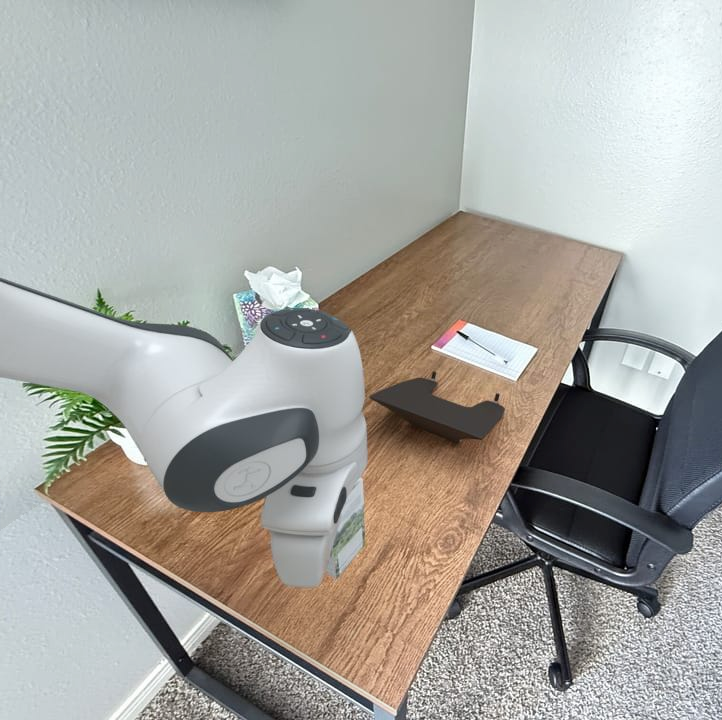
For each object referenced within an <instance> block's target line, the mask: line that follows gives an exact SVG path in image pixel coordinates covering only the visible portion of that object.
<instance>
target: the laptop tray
mask: <svg viewBox="0 0 722 720" xmlns="http://www.w3.org/2000/svg"><path fill="white" fill-rule="evenodd" d="M436 376H437V371H435V370H433V371H432V373H431V376H430V379H429V378H424V377H415V378H411V379H408V380H405V381H401V382H398V383H396V384H394V385H391V386H387V387H386V388H383V389H381V390H379V391H377V392H374V393H373V394H371V395H369V400H372V401H373V402H375V403H377V404H379V405H381V406H382V407H384V408H386V409H388V410H389V411H391V412H393V413H394V414H395V415H397V416H399V417H400V418H401V419H403V420H404V421H405V422H407V423H408V424H409V425H410V426H411V427H413V428H415V429H416V430H420V431H422V432H424V433H427V434H430V435H433V436H436V437H438V438H441V439H443V440H446V441H448V442H451V443H453V444H460V442H461V441H463V440H474V441H483V439H484V438H485V437H486V436H488V435H489V434H490V432H492V430H494V429H495V427H496V426H497V425H498V423H499V422H500V421H501V419H502V417H503V415H504V414H505V411H506V408H505V407H504V406H503V405H501V404H500V403H498V402H499V399H500V395H501V394H500V393H498V392H497V393H495V395H494V399H493V401H492V400H484V401H481V402H479V403H476V404H474V405H473V406H465V405H462V404H458V403H456V402H453V401H450V400H448V399H444V398H442V397H439V396H437V395H434V394H432V391H434V390H435V389H436V388H437V386H438V385H439V383H438V382H437V381H435V379H436Z"/></svg>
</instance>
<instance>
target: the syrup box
mask: <svg viewBox="0 0 722 720" xmlns="http://www.w3.org/2000/svg"><path fill="white" fill-rule="evenodd" d="M364 498H365V495H364V478H363V477H360V478H359V479H358V480H357V482H356V484H355V486H354V488H353V489H352V491H351V493H350V494H349V496H348V498H347V500H346V502H345V504H344V507H343V509H342V511H341V516H342V517H341V521H340V524H339V527H338V530H337V533H336V537H335V540H334V543H333V546H332V551H333V553H332V556H331V560H330V563H329V564H328V565H327V566H326V569H325V572H324V574H327V575H329V576H330V577H332V578H333V579H335V580H338V579H339V578H340V576H341V575H342V574H343V572H344V571H346V569H347V568H348V566H350V564H351V563H352V562H353V561H354V560H355V558H356V557H357V555H358V554H359V553H360V552H361V550H362V549H363V548H364V547H365V546H366V530H365V526H366V525H365V500H364Z"/></svg>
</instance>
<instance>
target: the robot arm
mask: <svg viewBox="0 0 722 720" xmlns="http://www.w3.org/2000/svg"><path fill="white" fill-rule="evenodd" d="M256 327H257V328H256V330H255V332H254V335H253V337H252V338H251V340H250V341H249V343H248V344H247V345H246V346H245V348H244V349H243V350H242V351H241V352H240V353H239V354H238V355H237V357H235V358H234V359H233V358H232V357H231V355H230V354H229V353H228V351H227V350H226V349H225V347H224V345H223V344H222V343H221V342H220V341H219V340H218V339H217V337H214V336H213V335H212V334H210V333H208V332H206V331H204V330H202V329H199V328H196V327H192V326H189V325H182V324H170V323H153V322H139V321H133V320H127V319H123V318H119V317H115V316H112V315H109V314H106V313H103V312H101V311H98V310H94V309H91V308H88V307H86V306H83V305H80V304H77V303H74V302H71V301H69V300H66V299H63V298H60V297H58V296H54V295H51V294H49V293H46V292H44V291H43V292H42V291H40V290H37V289H34V288H31V287H28V286H26V285H23V284H20V283H17V282H14V281H12V280H8V279H6V278H3V277H0V378H3V379H8V380H13V381H19V382H24V383H29V384H35V385H39V386H46V387H51V388H55V389H62V390H68V391H73V392H76V393H82V394H84V395H87V396H89V397H91V398H93V399H94V400H96V401H97V402H99V403H100V404H102V405H103V406H104V407H106V408H107V409H108V411H110V412H111V413H112V414H113V415H114V416H115V417H116V418H117V419H118V420H119V421H120V423H122V425H123V426H124V427H125V429H126V431H127V433H128V434H129V436H130V437H131V439H132V440H133V442H134V444H135V445H136V447H137V449H138V450H139V453H140V454H141V455H142V457H143V460H144V463H146V465H147V466H148V469H149V470H150V472H151V474H152V475H153V477H154V479H155V480H156V482H157V483H158V485H159V486H160V488H161V489H162V491H163V492H164V494H165V496H166V499H168V500H169V502H171V503H172V505H174V506H176V507H178V508H180V509H182V510H187V511H189V512H195V513H219V512H226V511H231V510H235V509H238V508H242V507H245V506H248V505H251V504H254V503H255V502H258V501H260V500H261V499H264V498H265V499H264V502H263V505H262V509H261V512H260V524H261V527H262V529H264V530H267V531H271V532H270V542H269V543H270V552H271V557H272V560H273V564H274V568H275V570H276V572H277V576H278V578H279V580H280V582H281V583H282V584H283V585H285V586H288V587H293V588H300V589H313V588H317V587H319V585H320V584H322V581H323V579H324V575H325V569H326V566H327V565H328V564H329V563H330V560H331V556H332V553H333V551H332V546H333V543H334V540H335V537H336V533H337V530H338V527H339V524H340V521H341V517H342V516H341V511H342V509H343V507H344V504H345V502H346V500H347V498H348V496H349V494H350V493H351V491H352V489H353V488H354V486H355V484H356V482H357V480H358V479H359V478H360V477H361V476H362V475H363V474H364V473H365V471H366V469H367V465H368V460H369V453H368V432H367V431H368V430H367V421H366V418H365V415H364V413H363V408H364V404H365V399H366V388H365V375H364V366H363V360H362V355H361V351H360V347H359V343H358V341H357V338H356V335H355V334H354V331H353V330H352V329H351V328H350V327H349V326H348V325H347V324H346V323H345V322H343V321H342V320H340V319H339V318H338V317H336V316H334V315H332V314H330V313H328V312H326V311H323V310H319V309H318V310H317V309H313V308H310V307H309V308H308V307H290V308H284V309H280V310H276V311H273V312H270V313H269V314H266V315H264V316H263V318H262V319H261V320H260V321H259V323H258V325H257V326H256ZM361 478H362V477H361Z"/></svg>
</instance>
